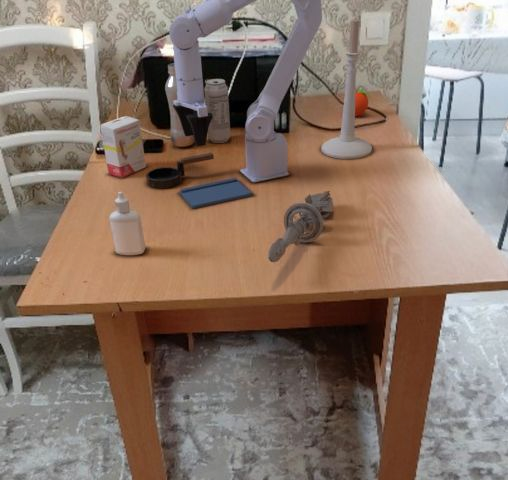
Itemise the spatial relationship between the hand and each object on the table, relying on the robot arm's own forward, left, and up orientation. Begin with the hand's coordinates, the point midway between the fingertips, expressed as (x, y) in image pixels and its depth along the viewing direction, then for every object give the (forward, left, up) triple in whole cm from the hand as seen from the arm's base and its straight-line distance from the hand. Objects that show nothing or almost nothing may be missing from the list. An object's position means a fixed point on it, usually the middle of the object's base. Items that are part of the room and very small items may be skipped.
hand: (195, 140), depth 137 cm
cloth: (0, +12, -8) cm, 15 cm away
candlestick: (-40, +3, -9) cm, 41 cm away
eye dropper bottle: (+24, +29, -9) cm, 39 cm away
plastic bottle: (-4, -21, -9) cm, 23 cm away
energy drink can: (-14, -20, -9) cm, 26 cm away
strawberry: (-57, -19, -9) cm, 60 cm away
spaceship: (-7, +41, -9) cm, 42 cm away
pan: (+4, 0, -8) cm, 9 cm away
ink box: (+14, -11, -9) cm, 20 cm away
